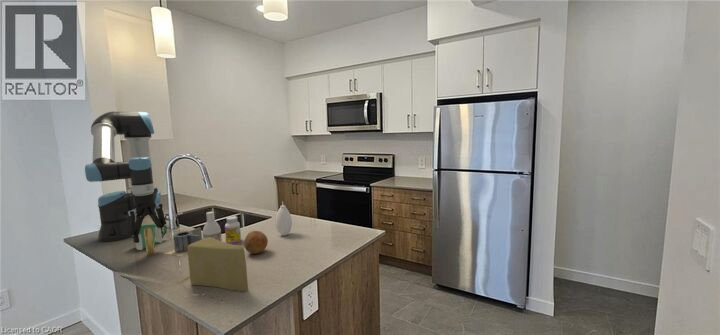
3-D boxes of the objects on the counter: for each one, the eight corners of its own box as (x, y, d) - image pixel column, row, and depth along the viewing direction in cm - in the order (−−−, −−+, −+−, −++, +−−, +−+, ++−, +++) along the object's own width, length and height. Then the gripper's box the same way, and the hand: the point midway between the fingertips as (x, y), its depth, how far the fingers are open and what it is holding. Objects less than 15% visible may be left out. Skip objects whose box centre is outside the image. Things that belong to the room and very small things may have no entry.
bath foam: (223, 259, 128) (219, 213, 125) (205, 263, 125) (200, 215, 122) (222, 253, 134) (219, 209, 131) (205, 256, 131) (201, 211, 128)
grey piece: (171, 251, 135) (169, 235, 134) (195, 240, 147) (194, 226, 146) (193, 254, 131) (191, 238, 130) (216, 243, 143) (215, 229, 142)
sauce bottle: (295, 233, 157) (293, 199, 155) (284, 238, 150) (282, 203, 148) (284, 231, 161) (282, 198, 159) (273, 236, 155) (271, 201, 152)
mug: (138, 254, 136) (136, 232, 134) (129, 250, 141) (126, 229, 140) (173, 243, 148) (171, 223, 147) (163, 239, 153) (160, 220, 152)
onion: (272, 249, 137) (271, 227, 136) (259, 258, 128) (258, 235, 127) (254, 247, 140) (252, 226, 139) (240, 256, 130) (238, 233, 129)
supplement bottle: (223, 245, 143) (220, 219, 142) (232, 240, 150) (230, 215, 148) (234, 246, 141) (232, 220, 140) (244, 241, 148) (242, 216, 146)
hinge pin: (145, 258, 131) (141, 229, 130) (152, 255, 134) (148, 226, 132) (150, 259, 130) (146, 229, 129) (157, 256, 133) (153, 227, 131)
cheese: (257, 284, 106) (254, 243, 104) (235, 298, 98) (231, 254, 96) (213, 273, 116) (209, 235, 114) (189, 285, 107) (185, 244, 105)
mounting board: (162, 255, 133) (162, 253, 133) (193, 242, 148) (193, 240, 148) (188, 259, 128) (188, 257, 128) (217, 245, 143) (217, 243, 143)
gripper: (123, 200, 118) (130, 256, 120) (172, 189, 137) (177, 238, 140) (110, 198, 120) (118, 254, 123) (160, 188, 139) (165, 236, 142)
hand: (149, 245), depth 131 cm, fingers open, 8 cm apart
